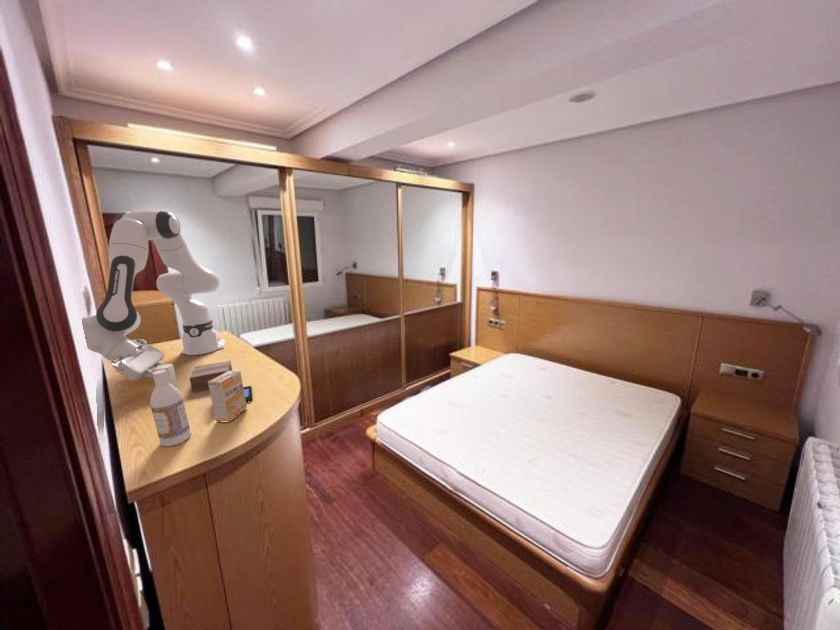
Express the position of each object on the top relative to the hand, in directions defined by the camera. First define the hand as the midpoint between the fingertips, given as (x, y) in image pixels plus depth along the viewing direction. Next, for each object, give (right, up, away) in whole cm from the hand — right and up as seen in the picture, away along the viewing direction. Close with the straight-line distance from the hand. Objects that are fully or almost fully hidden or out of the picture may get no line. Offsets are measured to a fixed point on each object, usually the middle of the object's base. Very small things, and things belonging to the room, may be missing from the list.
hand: (163, 374), depth 126 cm
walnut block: (+15, -4, +5) cm, 17 cm away
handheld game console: (+30, -7, -8) cm, 32 cm away
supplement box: (+36, -9, -20) cm, 42 cm away
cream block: (+1, -6, +1) cm, 6 cm away
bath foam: (+26, -13, -31) cm, 43 cm away
